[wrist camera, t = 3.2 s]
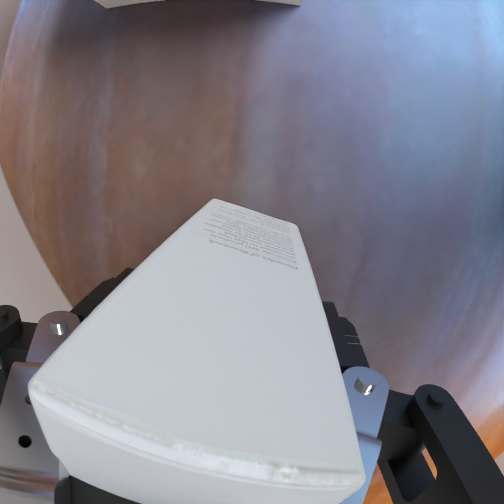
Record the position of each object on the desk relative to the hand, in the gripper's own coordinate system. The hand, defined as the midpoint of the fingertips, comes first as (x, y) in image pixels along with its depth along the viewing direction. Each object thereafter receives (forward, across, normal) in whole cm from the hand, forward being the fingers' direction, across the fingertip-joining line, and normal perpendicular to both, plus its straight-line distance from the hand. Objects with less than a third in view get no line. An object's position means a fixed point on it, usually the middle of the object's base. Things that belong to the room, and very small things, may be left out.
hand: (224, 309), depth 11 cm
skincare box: (+4, 0, 0) cm, 4 cm away
